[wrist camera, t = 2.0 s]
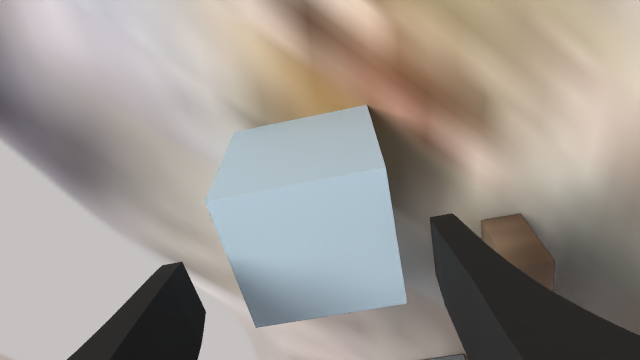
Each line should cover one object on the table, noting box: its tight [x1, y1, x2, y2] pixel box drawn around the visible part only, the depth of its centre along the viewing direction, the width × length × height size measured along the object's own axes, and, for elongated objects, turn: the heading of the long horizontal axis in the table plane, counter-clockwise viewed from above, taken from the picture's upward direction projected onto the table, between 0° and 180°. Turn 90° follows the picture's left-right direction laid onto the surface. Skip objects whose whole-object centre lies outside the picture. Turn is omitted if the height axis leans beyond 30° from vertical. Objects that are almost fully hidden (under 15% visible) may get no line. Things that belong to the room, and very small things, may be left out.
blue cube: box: [205, 105, 407, 328], centre depth 15 cm, size 5×5×5 cm
